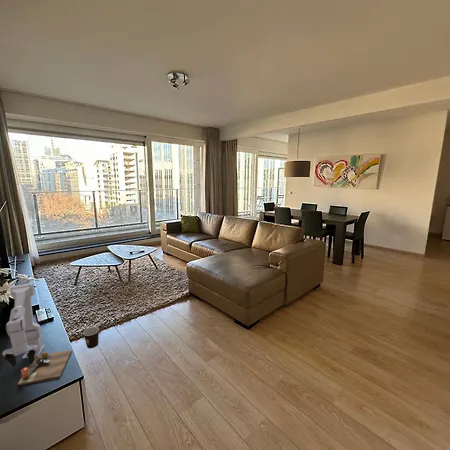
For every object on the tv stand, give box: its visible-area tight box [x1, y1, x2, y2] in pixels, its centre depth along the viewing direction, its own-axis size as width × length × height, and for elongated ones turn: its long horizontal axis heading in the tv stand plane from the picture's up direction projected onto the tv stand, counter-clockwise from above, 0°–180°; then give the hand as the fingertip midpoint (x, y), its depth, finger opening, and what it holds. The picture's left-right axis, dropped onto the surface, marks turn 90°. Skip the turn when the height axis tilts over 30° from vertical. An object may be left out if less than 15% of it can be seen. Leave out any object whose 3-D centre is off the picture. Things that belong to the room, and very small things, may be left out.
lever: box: [20, 358, 50, 380], centre depth 133 cm, size 14×7×5 cm, turn 178°
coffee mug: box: [81, 326, 100, 349], centre depth 155 cm, size 12×9×10 cm
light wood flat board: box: [17, 349, 73, 386], centre depth 137 cm, size 20×19×5 cm
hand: (23, 364), depth 127 cm, fingers open, 7 cm apart
